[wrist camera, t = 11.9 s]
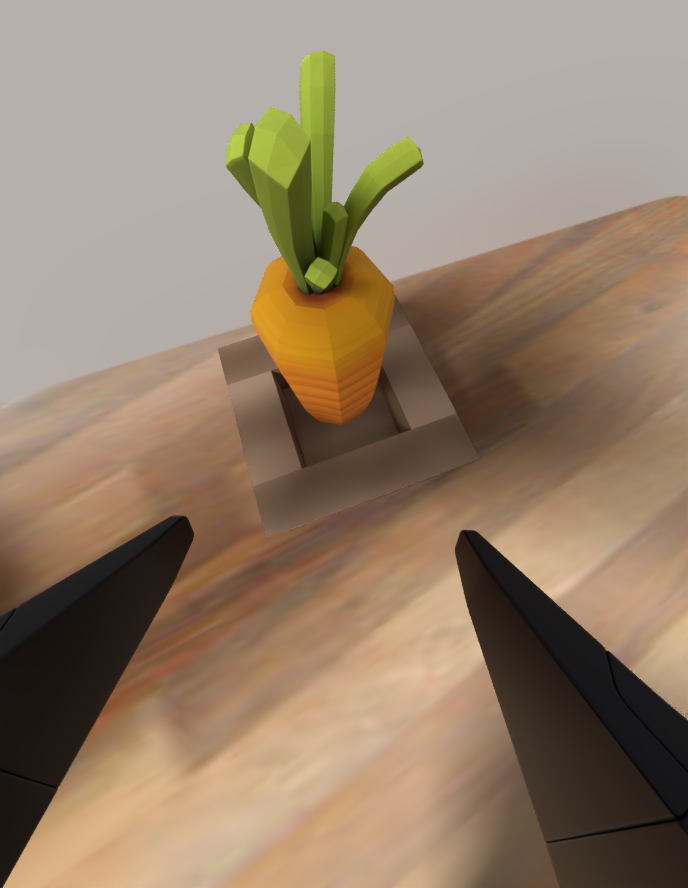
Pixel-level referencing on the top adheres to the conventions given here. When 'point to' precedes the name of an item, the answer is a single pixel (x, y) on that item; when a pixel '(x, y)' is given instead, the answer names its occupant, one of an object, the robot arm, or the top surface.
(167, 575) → the robot arm
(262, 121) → the carrot
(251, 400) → the walnut socket block
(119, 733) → the top surface
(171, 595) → the top surface
